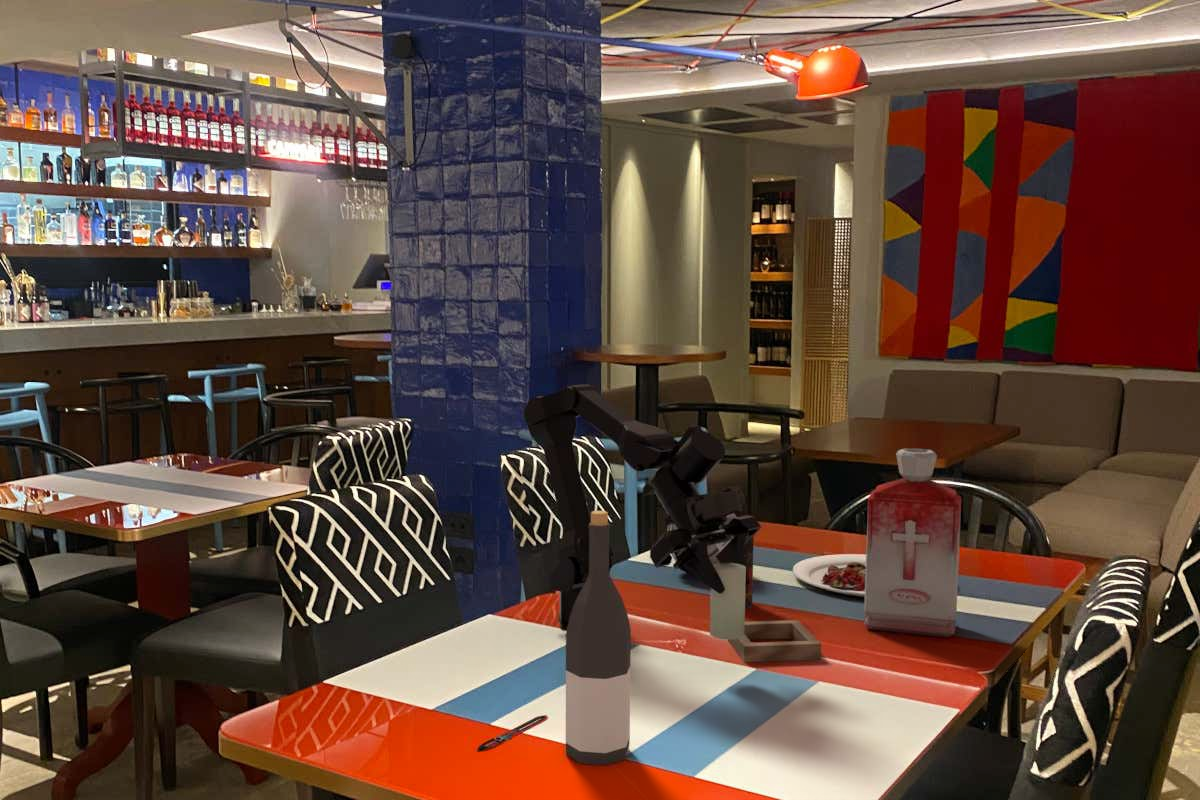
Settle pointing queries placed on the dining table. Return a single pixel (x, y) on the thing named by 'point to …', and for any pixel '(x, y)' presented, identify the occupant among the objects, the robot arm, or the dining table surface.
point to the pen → (511, 733)
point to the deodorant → (749, 563)
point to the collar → (797, 649)
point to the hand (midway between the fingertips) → (735, 588)
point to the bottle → (913, 551)
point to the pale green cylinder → (728, 602)
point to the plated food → (834, 573)
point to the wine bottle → (598, 661)
